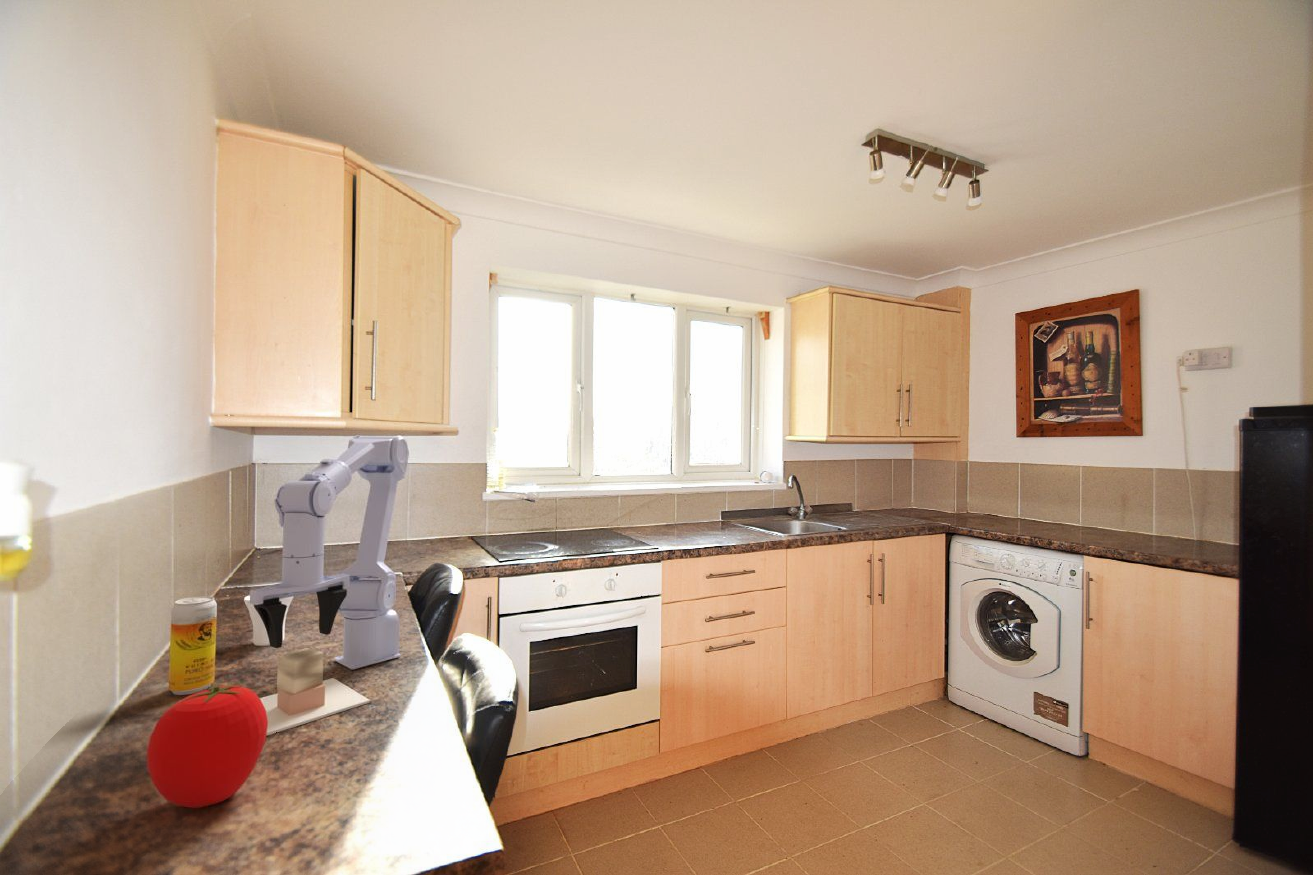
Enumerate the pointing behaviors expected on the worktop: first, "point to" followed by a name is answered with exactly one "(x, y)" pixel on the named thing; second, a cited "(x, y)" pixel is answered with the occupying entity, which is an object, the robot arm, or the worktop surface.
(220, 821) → the worktop surface
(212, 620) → the beer can
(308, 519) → the robot arm
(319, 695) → the terracotta block
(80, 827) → the worktop surface
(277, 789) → the worktop surface
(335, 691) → the build mat
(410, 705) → the worktop surface
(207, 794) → the tomato
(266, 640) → the cup
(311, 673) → the maple block
